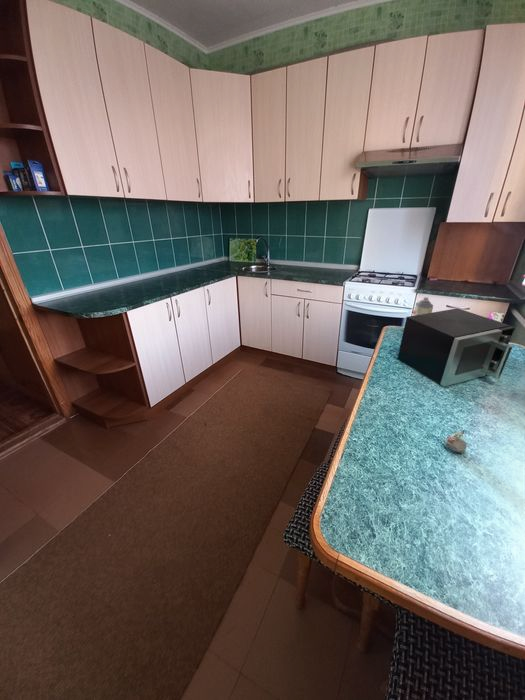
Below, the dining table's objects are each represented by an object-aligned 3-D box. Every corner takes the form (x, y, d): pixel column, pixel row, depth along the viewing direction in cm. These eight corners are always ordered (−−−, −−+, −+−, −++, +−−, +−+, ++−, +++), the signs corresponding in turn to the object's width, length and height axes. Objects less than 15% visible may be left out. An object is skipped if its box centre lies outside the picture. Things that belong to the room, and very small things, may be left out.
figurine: (467, 457, 72) (474, 439, 69) (447, 454, 73) (454, 436, 70) (458, 441, 76) (465, 424, 74) (440, 439, 77) (446, 422, 74)
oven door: (502, 384, 99) (522, 337, 91) (459, 396, 94) (477, 347, 86) (480, 373, 106) (497, 328, 98) (440, 384, 100) (454, 337, 92)
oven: (499, 373, 106) (517, 328, 98) (445, 388, 98) (460, 340, 90) (445, 348, 125) (457, 308, 117) (397, 358, 117) (406, 316, 109)
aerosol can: (410, 335, 137) (420, 294, 128) (426, 339, 133) (437, 297, 123) (405, 340, 132) (415, 297, 123) (421, 344, 128) (432, 300, 119)
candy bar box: (477, 347, 125) (490, 311, 118) (491, 350, 122) (505, 313, 115) (472, 356, 118) (485, 318, 110) (487, 360, 115) (501, 321, 107)
